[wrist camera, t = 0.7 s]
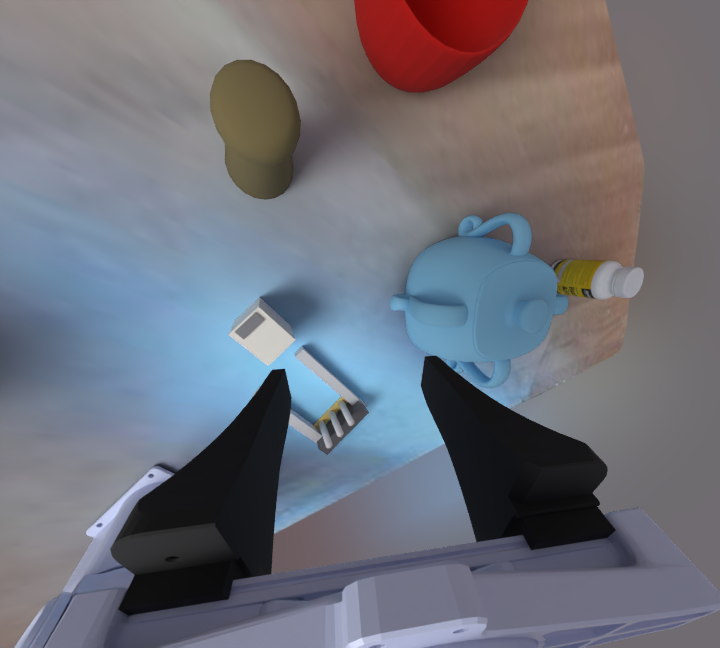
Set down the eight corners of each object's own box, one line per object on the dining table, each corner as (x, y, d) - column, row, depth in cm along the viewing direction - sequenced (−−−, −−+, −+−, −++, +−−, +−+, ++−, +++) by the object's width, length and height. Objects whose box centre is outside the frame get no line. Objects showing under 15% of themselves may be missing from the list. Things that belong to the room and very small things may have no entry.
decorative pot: (427, 372, 38) (507, 429, 26) (366, 290, 31) (433, 314, 19) (503, 299, 40) (611, 321, 27) (459, 207, 33) (577, 179, 21)
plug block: (267, 346, 29) (268, 366, 24) (235, 319, 27) (228, 335, 22) (290, 325, 29) (295, 340, 24) (259, 297, 27) (258, 307, 22)
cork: (303, 159, 26) (329, 99, 16) (273, 212, 26) (279, 186, 16) (245, 111, 23) (230, 1, 13) (212, 170, 23) (172, 107, 13)
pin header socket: (322, 443, 35) (330, 468, 30) (252, 393, 30) (250, 415, 26) (363, 401, 35) (376, 420, 31) (301, 346, 30) (307, 360, 26)
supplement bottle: (539, 288, 41) (615, 297, 33) (552, 255, 41) (633, 255, 32) (559, 296, 44) (635, 307, 35) (572, 264, 43) (653, 267, 34)
